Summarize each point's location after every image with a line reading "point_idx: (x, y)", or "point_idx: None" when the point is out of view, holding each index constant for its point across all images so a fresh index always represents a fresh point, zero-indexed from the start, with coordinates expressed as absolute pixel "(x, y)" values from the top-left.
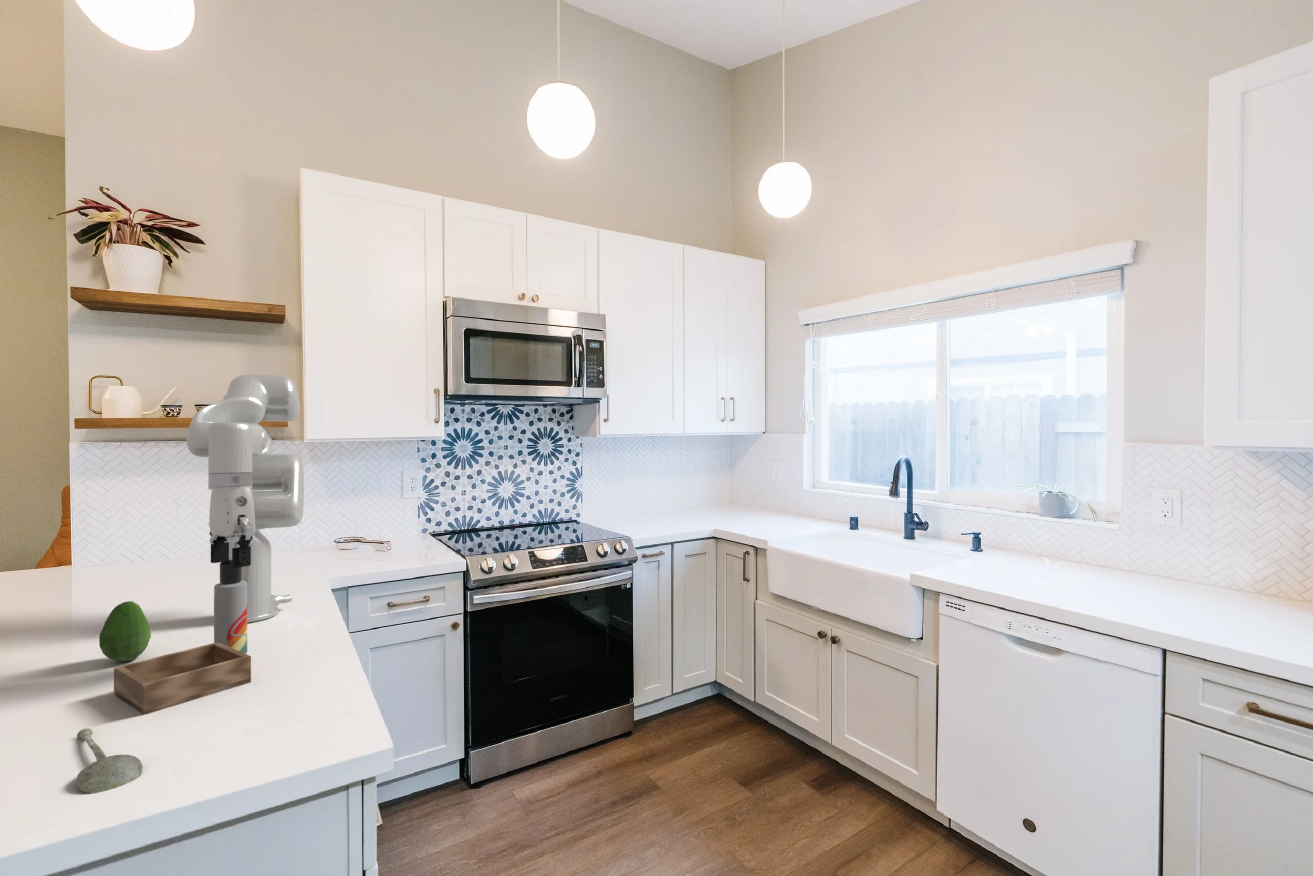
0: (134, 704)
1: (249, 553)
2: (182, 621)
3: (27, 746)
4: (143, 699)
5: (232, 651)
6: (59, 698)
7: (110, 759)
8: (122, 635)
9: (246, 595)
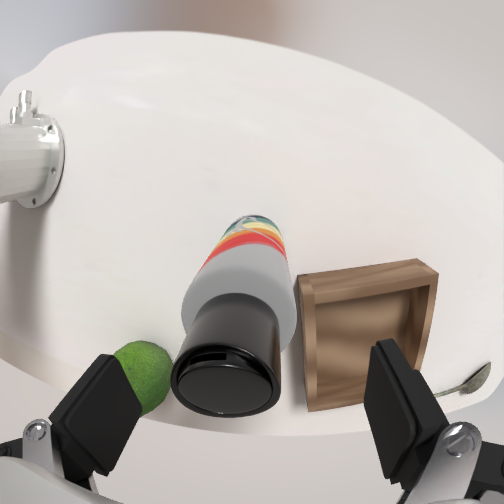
0: None
1: (417, 390)
2: (14, 247)
3: None
4: None
5: (390, 289)
6: (263, 415)
7: (480, 383)
8: (165, 394)
9: (271, 258)
